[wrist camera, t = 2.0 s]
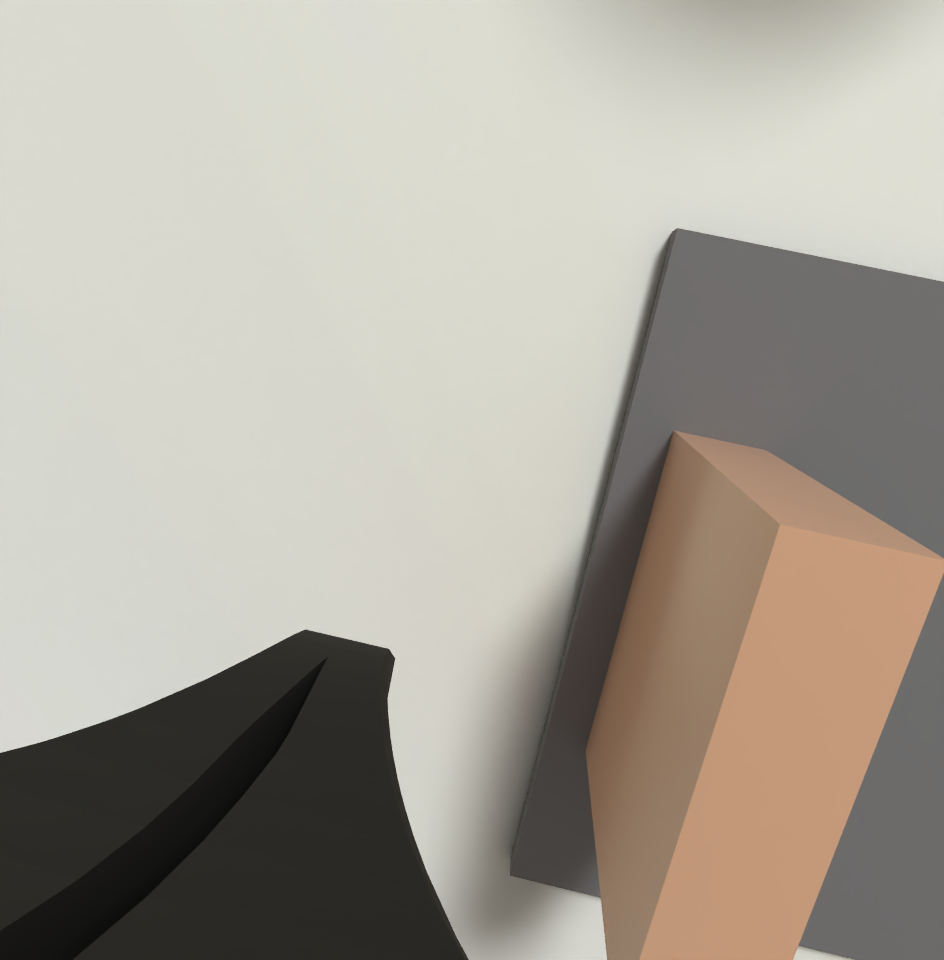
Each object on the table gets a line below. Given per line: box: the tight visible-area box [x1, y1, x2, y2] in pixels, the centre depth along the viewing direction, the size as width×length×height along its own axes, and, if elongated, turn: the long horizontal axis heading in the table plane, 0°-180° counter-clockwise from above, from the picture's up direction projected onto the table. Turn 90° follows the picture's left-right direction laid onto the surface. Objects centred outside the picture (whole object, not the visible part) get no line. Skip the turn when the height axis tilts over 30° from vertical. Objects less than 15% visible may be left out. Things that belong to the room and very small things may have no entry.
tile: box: [586, 431, 944, 960], centre depth 13 cm, size 8×2×7 cm, turn 169°
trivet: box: [510, 228, 944, 960], centre depth 16 cm, size 16×15×1 cm
